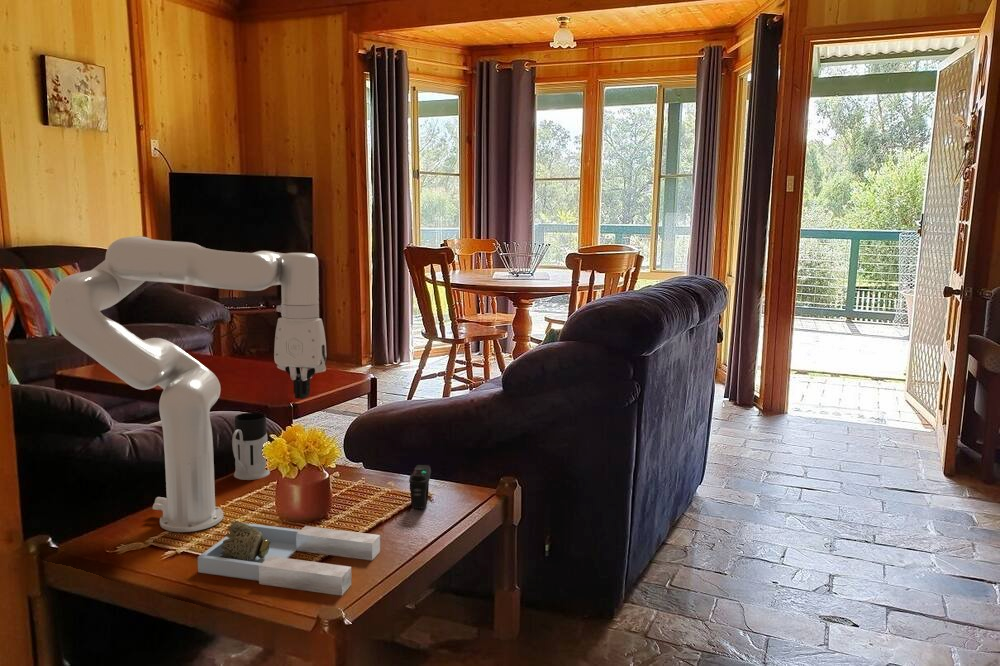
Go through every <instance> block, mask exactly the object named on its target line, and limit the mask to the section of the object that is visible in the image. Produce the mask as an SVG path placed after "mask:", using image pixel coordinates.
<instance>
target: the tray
mask: <svg viewBox="0 0 1000 666" xmlns="http://www.w3.org/2000/svg"><path fill="white" fill-rule="evenodd" d="M243 524H246V525H249V526H251V527H253V528H255V529H257V530H259V531H260V532H261V534H262V537H263V539H268V540H269V541H270V547H269V551H268V553H267V555H266V557H265V558H259V557H258V556H257V557H256V558H255V559H254V560H252V561H243V560H236V559H229V558H221V557H220V556H222V554H220V552H223V551H225V550H224V549H223V548H222V546H223V545H225V544H224V543H223V541H224V540H226V539H230V538H228V537H227V536H225V537H223V538H221V540H219V541H218V542H217V543H215V544H214V545H212V546H211V547H209V548H208V549H207V550H205V551H204V552H203V553H201V554H200V555H198V556H197V571H198V573H201V574H208V575H216V576H222V577H229V578H237V579H243V580H251V581H255V582H256V581H258V582H259V565H260V564H261V563H263V562H264V561H265V560H266V559H267V558H268V557H270V556H274V557H281V558H289V559H290V557H291V556H292V555H293V554H294V553H296V534H297V533H298V532H299V531H300V530H301V529H298V528H297V529H296V528H289V527H281V526H273V525H272V526H271V525H265V524H257V523H251V522H250V523H247V522H244V523H243Z"/></svg>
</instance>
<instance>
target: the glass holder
mask: <svg viewBox="0 0 1000 666" xmlns="http://www.w3.org/2000/svg"><path fill="white" fill-rule="evenodd" d="M231 439H232V440H231V443H232V445H231V446H232V452H233V457H234V459H235V461H234V466H235V471H234V473H233V477H234V478H235V479H238V480H241V481H243V480H244V481H245V480H247V481H251V480H252V481H253V480H259V479H264V478H266V477H267V476H269V475H270V474H271V471H270V469H269V470H266V469H265V466H266V462H267V461H266V459H265V458H263V456H262V454H261V453H262V448H263V444H264V443H266V442H267V443H268V432H267V415H266V414H265V413H261V412H246V413H245V412H243V413H239V414H237V415H235V416H234V432H233V434H232V438H231Z"/></svg>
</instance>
